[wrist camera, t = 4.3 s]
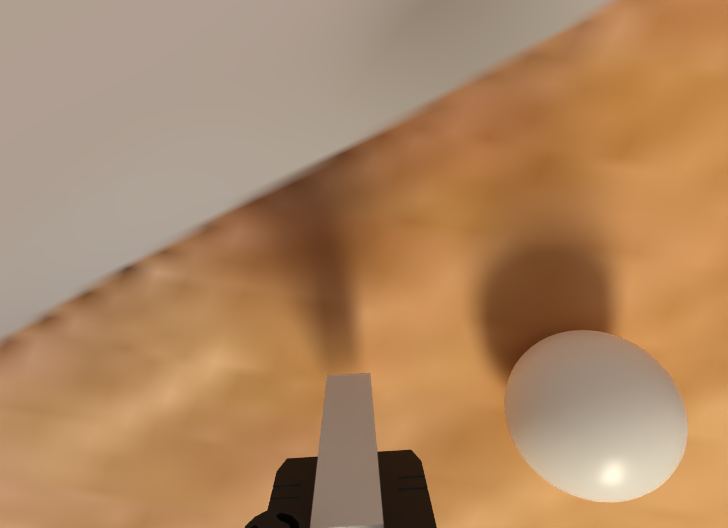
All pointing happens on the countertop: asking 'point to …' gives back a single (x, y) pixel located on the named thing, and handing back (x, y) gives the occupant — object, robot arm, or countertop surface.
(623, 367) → the cue ball
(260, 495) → the countertop surface
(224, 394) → the countertop surface
